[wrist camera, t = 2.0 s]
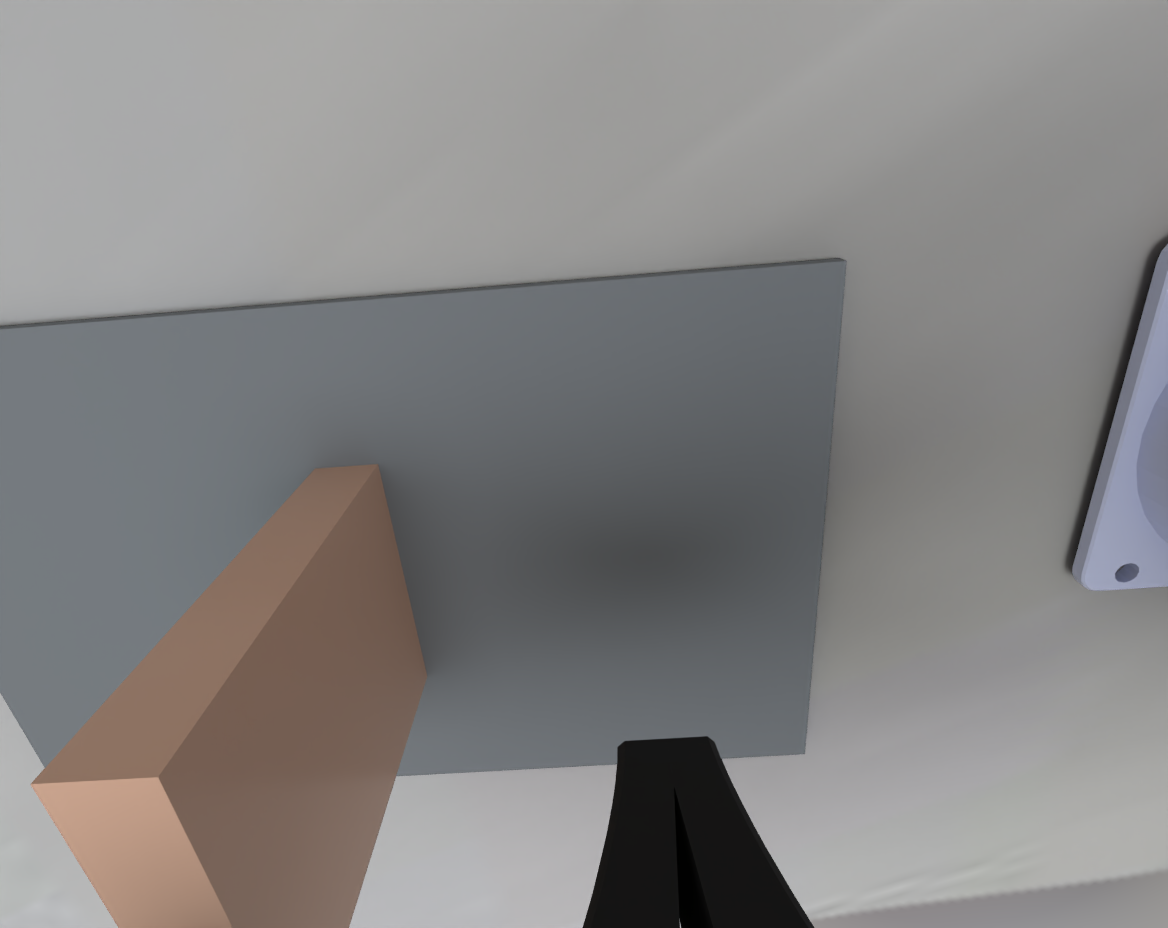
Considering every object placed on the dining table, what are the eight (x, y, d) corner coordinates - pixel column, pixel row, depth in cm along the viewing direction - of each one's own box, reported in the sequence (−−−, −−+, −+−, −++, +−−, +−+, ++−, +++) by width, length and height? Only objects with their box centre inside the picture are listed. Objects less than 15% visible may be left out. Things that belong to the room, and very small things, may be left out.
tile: (378, 464, 14) (158, 777, 7) (427, 676, 17) (303, 1071, 9) (306, 469, 14) (12, 784, 7) (365, 680, 17) (195, 1075, 9)
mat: (839, 258, 13) (846, 260, 12) (800, 741, 18) (804, 753, 18) (-184, 341, 13) (-205, 346, 13) (70, 782, 19) (60, 794, 18)
